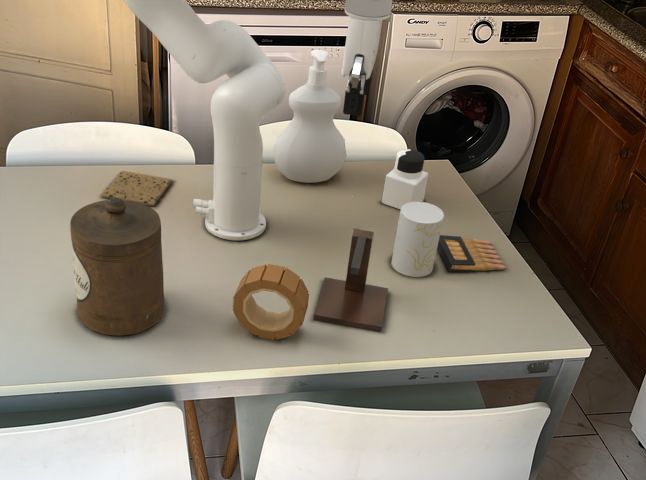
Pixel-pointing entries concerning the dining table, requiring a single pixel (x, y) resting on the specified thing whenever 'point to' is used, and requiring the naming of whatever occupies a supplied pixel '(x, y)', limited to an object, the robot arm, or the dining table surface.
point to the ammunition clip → (468, 254)
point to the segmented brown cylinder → (276, 282)
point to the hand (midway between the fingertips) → (355, 103)
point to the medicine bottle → (405, 180)
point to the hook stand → (353, 291)
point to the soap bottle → (311, 130)
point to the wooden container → (118, 266)
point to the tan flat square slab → (137, 188)
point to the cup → (417, 238)
